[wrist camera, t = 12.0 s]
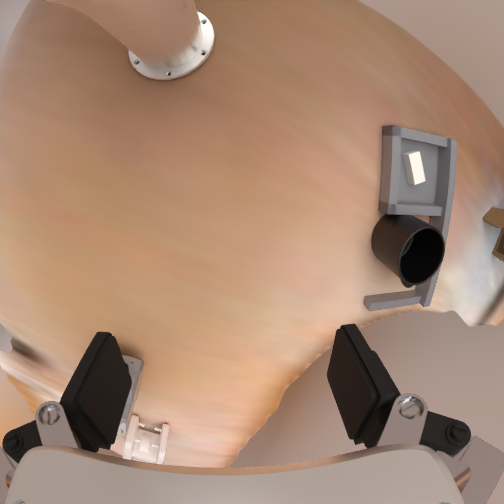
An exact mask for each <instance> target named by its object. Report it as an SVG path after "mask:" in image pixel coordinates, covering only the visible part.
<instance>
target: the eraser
mask: <svg viewBox="0 0 504 504" xmlns="http://www.w3.org/2000/svg"><path fill="white" fill-rule="evenodd" d="M402 156H403V161H404V165H405V170H406V174H407V179H408V183H410V184H414V185H416V184H419V183H422V182H424V181H425V176H424V170H423V165H422V160H421V155H420V151H413V150H412V151H409V152H406V153H402Z"/></svg>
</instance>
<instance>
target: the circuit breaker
mask: <svg viewBox="0 0 504 504" xmlns="http://www.w3.org/2000/svg"><path fill="white" fill-rule="evenodd" d="M121 354H122V353H121ZM122 357H123V359H124V362H125V364H126V367H127V369H128V371H129V374H130V376H131V379H132V386H131V389H130V392H129V395H128V399H127V402H126V405H125V408H124V412H123V415H122V418H121V422H120V425H119V429H118V432H117V435H119V436H122V437H125V438H126V432H127V431H128V427H129V423H130V418H131V414H132V411H133V407H134V404H135V400H136V398H137V394H138V391H139V386H140V384H141V377H142V371H143V365H144V362H142V360H139V359H136V358H133V357H130V356H127V355H122Z"/></svg>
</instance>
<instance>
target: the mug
mask: <svg viewBox="0 0 504 504" xmlns="http://www.w3.org/2000/svg"><path fill="white" fill-rule="evenodd" d="M372 247H373V251H374V253H375V255H376V257H377V258H378V259H379V260H380V261H382V262H383V263H384V264H385V265H386V266H387V267H388V268H389V269H391V270H392V271H393V272H394V273H395V274H396V275H397V276H398V277H399V278H400V280H401V282H402V284H403V285H404V286H405V287H407V288H410V287H412V286H413V285H420V284H423V283H425V282H426V281H428V280H429V279H430V278H431V277H432V276H434V274H435V273H436V272H437V270H438V269H439V267H440V265H441V263H442V261H443V257H444V253H445V242H444V238H443V235H442V234H441V232H440V231H439V230H438V229H437V228H435V227H434V226H432V225H430V224H428V223H426V222H424V221H422V220H420V219H418V218H416V217H414V216H412V215H396V214H386V215H385V216H383V217H382V218H381V219H380V221H379V222H378V223H377V225H376V227H375V229H374V232H373V236H372Z"/></svg>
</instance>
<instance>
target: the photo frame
mask: <svg viewBox="0 0 504 504" xmlns="http://www.w3.org/2000/svg"><path fill="white" fill-rule="evenodd" d="M483 220H484V221H486V222H488V223H489V224H491V225H493V226H494V227H496V228H502V230H501V232H500V235H499V237H498V240H497V242H496V245H495V247H494V250H493V252H492V254H494V255H495V256H496V257H498V258H499V259H500V260H502V261H503V262H504V210H503V209H498V208H491V209H490V210H489V212H488V213H487V214H486V215H485V216H484V217H483Z"/></svg>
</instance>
